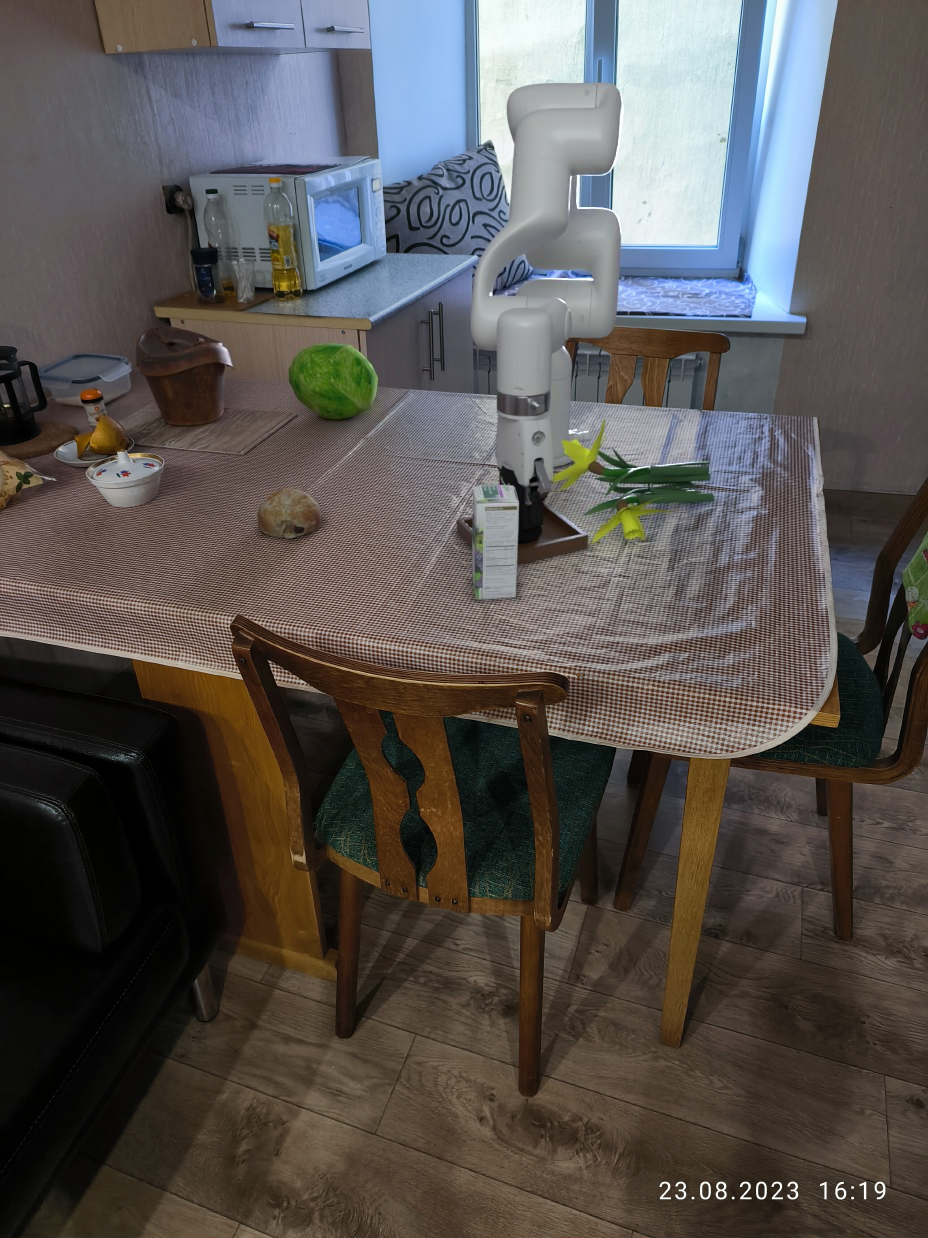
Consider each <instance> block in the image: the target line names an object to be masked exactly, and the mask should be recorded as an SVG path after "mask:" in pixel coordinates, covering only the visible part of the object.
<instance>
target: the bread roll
mask: <svg viewBox="0 0 928 1238" xmlns="http://www.w3.org/2000/svg"><path fill="white" fill-rule="evenodd" d="M256 516H257V526H258V529H259V530H260V531H262V532H263V534H265V535H268V536H271V537H272V538H276V539H286V540H291V539H295V538H299V537H303V536H305V535H307V534H310V533H314V532H317V531H318V530H319V528H320V527H321V524H322V520H323V519H322V518H323V517H322V509H321V507H320V505H319V503H318V501H316V499H315V498H313V497H312V496H311V495H309V494H307V493H305V492H304V491H303V490H300V489H297V488H296V489H295V488H292V487H291V488H280V489H278V490H276V491H274V492H273V493H272V494H270V495H269V496H268V497H267V499H266V500H264V501H263V502H262V503H261V505H260V506H259V507H258V509H257V513H256Z"/></svg>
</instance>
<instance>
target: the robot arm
mask: <svg viewBox="0 0 928 1238" xmlns="http://www.w3.org/2000/svg"><path fill="white" fill-rule="evenodd" d="M623 116H624V103H623V96H622V92H621V90H620V89H619V87H618V86H617V85H615V84H613V83H610V82H545V83H544V82H543V83H533V84H527V85H521V86H519V87H517V88H515V89H514V90H513V91H511V93H510V94H509V96H508V98H507V102H506V119H507V124H508V125H507V126H508V128H509V132H510V136H511V139H512V143H513V145H514V146H513V157H512V170H511V171H512V172H511V186H510V187H511V188H510V196H509V197H510V198H509V199H510V200H509V210H508V211H509V213H508V220H507V222H506V224H505V225H504V227H502V229H500V231H499V232H498V233H497V234H496V235H495V236H494V237H493V238H492V240H491V241H490V242H489V243H488V245H487V246H486V248H485V249H484V251H483V253H482V254H481V256H480V259H479V261H478V263H477V266H476V268H475V272H474V274H473V275H474V276H473V282H472V293H471V305H470V306H471V307H470V318H469V319H470V320H469V321H470V335H471V339H472V341H473V343H474V344H475V345H476V346H477V347H478V348H479V349H481V350H483V351H489V352H496V414H497V420H496V421H497V422H496V437H495V438H496V439H495V453H494V455H495V459H496V460H495V461H496V465H497V470H498V472H500V469H501V467H502V466H503V464H502V462H503V461H504V464H506V465H507V466H508V467H510V468H514V473H515V475H516V478H517V480H518V483H519V484H521V485H522V486H523V492H524V498H525V503H524V504H523V511H522V527H523V528H524V529H525V530H526V529H531V528H536V527H540V526H542V525H543V507H544V503H545V502H546V501H547V500H546V499H547V498H548V495H549V494H550V493H551V492H552V489H553V487H552V484H551V483H552V482H551V481H552V480H553V475H554V468H555V467H562V466H566V465H567V464H570V463H572V462H574V461H573V460H572V459H571V458H570V457H569V456H568V455H566V454H564V452H563V451H565V449H564V447H563V445H562V440H566V441H569V442H571V440H572V441H574V439H575V440H576V439H577V440H578V442H579V443H586V442H591V441H592V439H593V435H592V432H591V431H590V430H586V431H581V432H579V430H578V429H577V428H576V429H571V430H570V419H571V399H572V397H571V395H572V378H573V377H572V375H573V361H572V358H571V356H570V353H569V351H568V350H567V349H566V347H565V343H566V342H567V341H568V340H569V339H602V338H606V337H608V336H610V334H611V333H612V332H613V330H614V329H615V326H616V321H617V314H618V313H617V312H618V301H619V284H620V269H621V255H622V254H621V253H622V228H621V223H620V222H621V221H620V218H619V216H618V215H617V214H616V212H614V211H613V210H612V209H609V208H604V207H579V205H578V191H579V189H578V188H579V176H605V175H607V174H609V173H610V172H611V171H612V169H613V168H614V166H615V163H616V160H617V158H618V157H617V156H618V152H619V148H620V140H621V132H622V125H623ZM523 255H525V259H526V261H527V263H528V265H530V267H532V268H534V269H538V270H547V271H578V272H579V271H583V272H588V273H589V274H590V275H591V276H592V278H565V277H564V278H556V277H555V278H553V277H545V278H544V277H543V278H535V279H530V280H527V281H525V282H523V284H521V285H520V286H519V287H518V289H517V291H516V293H515V295H493V293H494V287H495V286H494V285H495V282H496V280H497V278H498V276H499V274H500V273H501V272H502V271H503V269H504V268H505V267H507V266H508V265H509V264H510V263H511V262H513V261H514V260H516V259H518V258H520V257H522V256H523ZM532 477H536V479H537V482H532V483H529V479H531V478H532ZM533 486H537V491H534V492H533V494H532V495H531V493H530V487H533Z"/></svg>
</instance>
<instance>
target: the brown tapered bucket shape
mask: <svg viewBox="0 0 928 1238" xmlns="http://www.w3.org/2000/svg"><path fill="white" fill-rule="evenodd" d="M134 356H135V358H134V367H135V368H139V371H140V372H139V373H140V374H141V375H142V376H143V377H145V380H146V382H147V384H148V386H149V389H150V391H151V394H152V396H153V398H154V400H155V403H156V405H157V407H158V411H159V412H160V414H161V417H162V420H163V421H164V422H166V423H167V424H168V425H172V426H177V427H178V426H179V427H180V426H181V427H182V426H183V427H185V426H187V427H189V426H202V425H206V424H211V423H213V422H215V421H217V420H219V419H220V418H221V417H222V416H223V415H224V407H225V406H224V404H225V403H224V401H225V379H226V378H225V376H226V375H225V374H226V367H228V368H229V367H230V368H231V369H233V370H234V371H235V370H236V369H235V368H234V366H233V363H232V360H231V355H230V352H229V350H228V348H226V347H225V346H224V345H223V343H222V341H219V340H216V339H215V338H212V337H209V336H207V335H204V334H201V333H199V332H195V331H192V330H189V329H185V328H184V329H183V328H180V327H174V326H167V325H160V326H158V325H157V326H152V327H150V328H147V329H146V330H145V331H143V332H142V333H141V334H140V335H139V337H138V339H137V341H136V343H135V355H134Z"/></svg>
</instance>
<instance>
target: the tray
mask: <svg viewBox="0 0 928 1238" xmlns="http://www.w3.org/2000/svg"><path fill="white" fill-rule="evenodd" d="M472 531H473V516H469V517H464V518H459V519H456V534H457V536H459V537H460V538H461V539H462V540H463V541H464V542H465V543H466V544H467V545H468V546H469V547H470V548H472ZM588 547H589V534H588V533H587V532H585V531H584V530H582V529H581V528H580V527H578V526H577V525H575V524H574V523H573V522H572V521H571V520H569V519H568V518H566V517H565V516H564V515H563V514H562V513H560V512H559V511H558V510H556V509H555V508H554V507H553V506H551V505H550V504H549V503H547V502H546V501H545V503H544V507H543V525H542V534H541V535H540V536H539V537H538V539H537V540H535V541H533V542H531V543H526V544H518V552H517V566H519V565H523V564H527V563H532V562H536V561H539V560H544V559H549V558H554V557H558V556H561V555H566V554H571V553H574V552H579V551H584V550H588Z"/></svg>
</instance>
